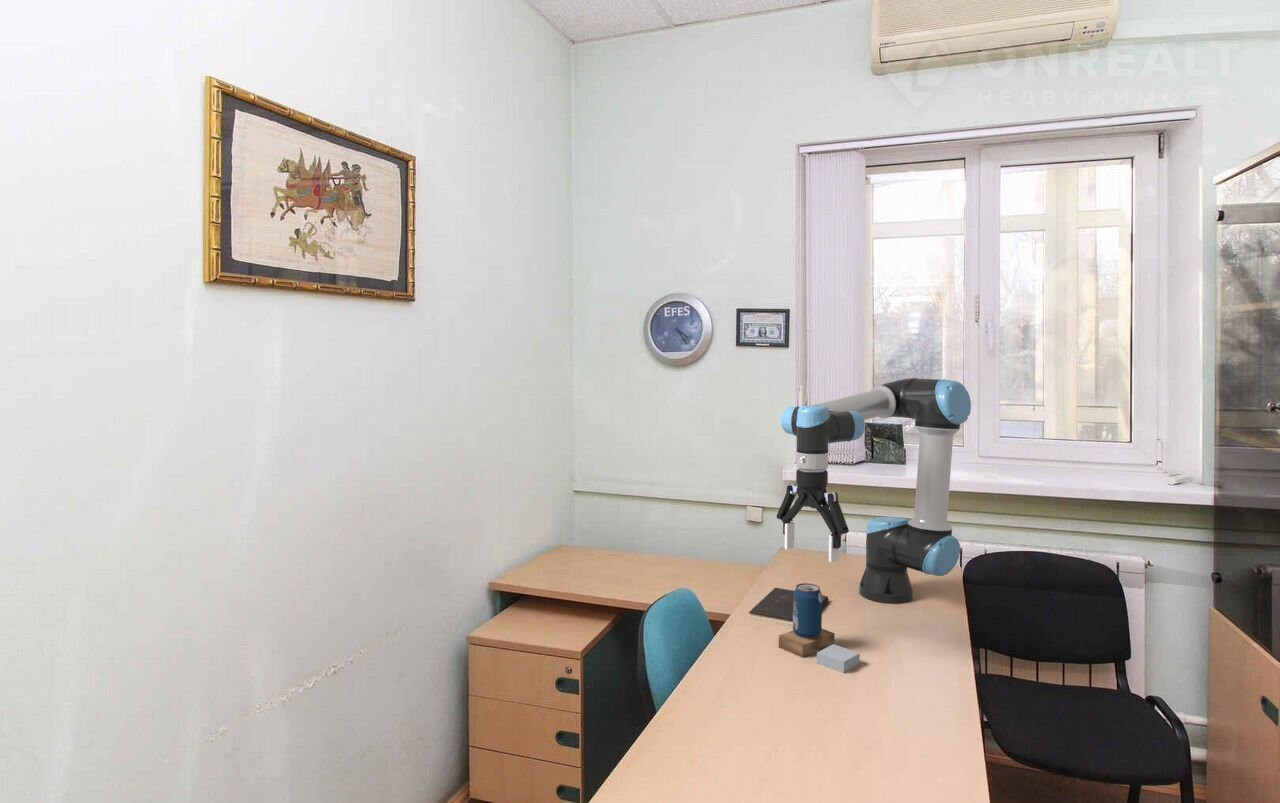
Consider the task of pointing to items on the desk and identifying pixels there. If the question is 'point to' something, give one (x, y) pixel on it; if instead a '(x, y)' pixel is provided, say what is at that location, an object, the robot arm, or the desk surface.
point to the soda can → (807, 611)
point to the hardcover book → (777, 607)
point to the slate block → (838, 658)
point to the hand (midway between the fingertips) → (810, 554)
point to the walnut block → (805, 643)
